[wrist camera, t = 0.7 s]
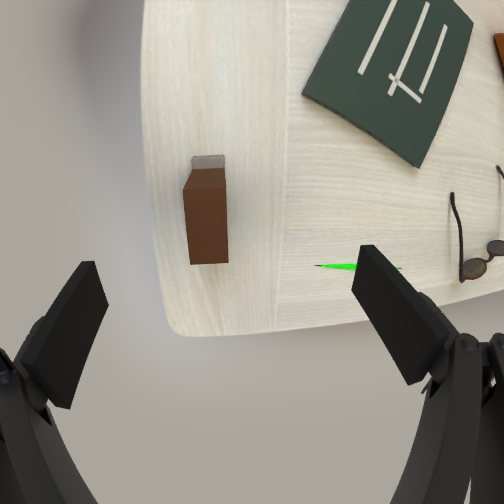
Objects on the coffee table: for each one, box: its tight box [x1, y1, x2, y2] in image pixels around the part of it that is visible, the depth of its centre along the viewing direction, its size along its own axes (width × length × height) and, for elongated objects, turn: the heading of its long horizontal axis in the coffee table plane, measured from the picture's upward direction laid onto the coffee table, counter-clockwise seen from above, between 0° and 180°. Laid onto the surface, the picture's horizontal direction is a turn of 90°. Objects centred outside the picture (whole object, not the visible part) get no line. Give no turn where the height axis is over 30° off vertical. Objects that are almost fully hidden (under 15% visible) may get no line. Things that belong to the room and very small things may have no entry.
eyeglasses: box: [451, 166, 504, 283], centre depth 30 cm, size 15×15×5 cm
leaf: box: [315, 264, 402, 270], centre depth 34 cm, size 1×14×1 cm, turn 83°
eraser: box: [183, 155, 229, 265], centre depth 24 cm, size 8×3×8 cm, turn 0°
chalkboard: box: [302, 0, 474, 169], centre depth 20 cm, size 26×16×1 cm, turn 156°
